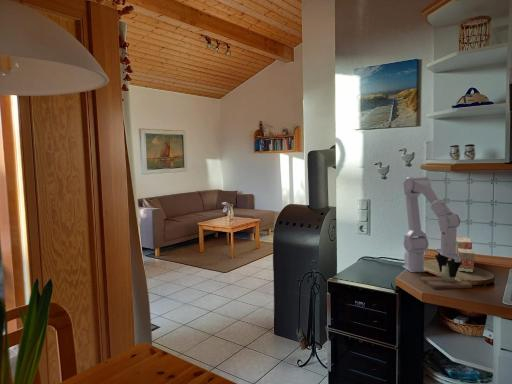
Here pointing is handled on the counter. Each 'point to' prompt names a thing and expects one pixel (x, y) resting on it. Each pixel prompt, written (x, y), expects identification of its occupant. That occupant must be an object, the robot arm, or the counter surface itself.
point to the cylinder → (446, 274)
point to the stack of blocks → (465, 252)
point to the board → (444, 283)
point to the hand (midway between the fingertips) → (447, 274)
